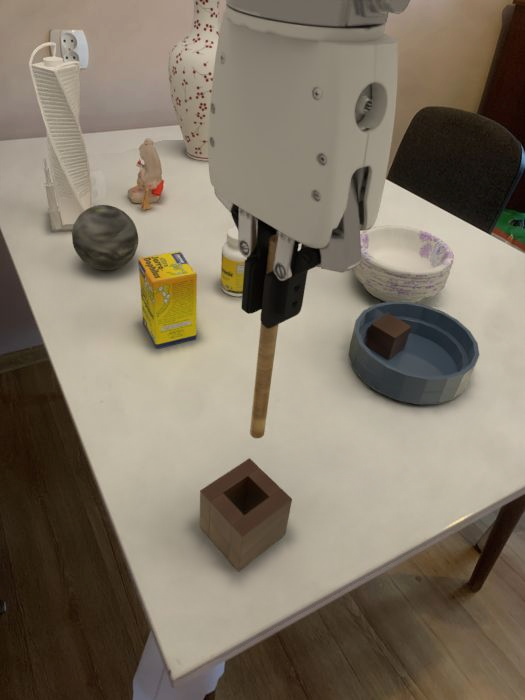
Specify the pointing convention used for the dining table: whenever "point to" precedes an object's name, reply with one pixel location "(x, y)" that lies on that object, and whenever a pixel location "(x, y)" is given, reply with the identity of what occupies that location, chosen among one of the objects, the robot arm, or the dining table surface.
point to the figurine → (147, 177)
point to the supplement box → (168, 298)
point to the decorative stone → (105, 237)
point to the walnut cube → (388, 336)
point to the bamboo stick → (264, 362)
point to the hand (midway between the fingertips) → (271, 311)
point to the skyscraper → (62, 139)
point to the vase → (195, 77)
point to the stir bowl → (416, 355)
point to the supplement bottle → (232, 265)
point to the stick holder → (256, 501)
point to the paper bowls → (403, 263)
